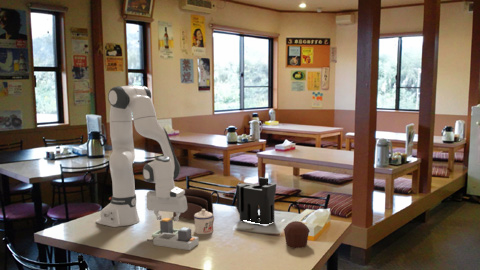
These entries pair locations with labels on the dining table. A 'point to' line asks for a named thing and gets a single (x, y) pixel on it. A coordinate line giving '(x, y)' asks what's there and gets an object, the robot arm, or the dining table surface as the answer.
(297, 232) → the muffin
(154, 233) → the tray
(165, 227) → the plug
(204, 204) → the letter holder
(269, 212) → the black machined bracket
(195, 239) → the power strip
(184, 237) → the dark grey block
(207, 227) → the teacup with lid
